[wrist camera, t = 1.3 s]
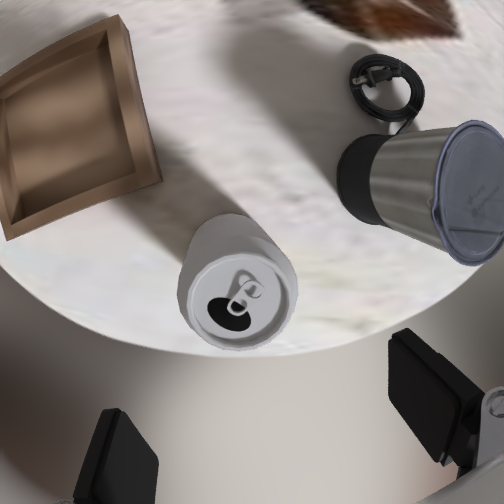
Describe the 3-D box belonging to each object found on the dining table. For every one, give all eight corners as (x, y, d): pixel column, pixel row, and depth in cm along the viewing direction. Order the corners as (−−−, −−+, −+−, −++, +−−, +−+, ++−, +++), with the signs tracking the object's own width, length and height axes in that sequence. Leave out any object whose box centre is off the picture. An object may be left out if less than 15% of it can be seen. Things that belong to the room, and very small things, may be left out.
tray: (1, 97, 21) (-19, 91, 17) (128, 31, 22) (118, 13, 18) (27, 232, 25) (6, 241, 21) (163, 180, 26) (154, 182, 22)
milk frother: (362, 242, 30) (461, 296, 16) (275, 107, 26) (338, 48, 11) (448, 171, 29) (550, 184, 15) (380, 50, 25) (472, -1, 11)
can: (173, 260, 28) (148, 319, 16) (222, 195, 27) (227, 212, 15) (237, 304, 30) (251, 380, 18) (285, 244, 29) (331, 291, 17)
